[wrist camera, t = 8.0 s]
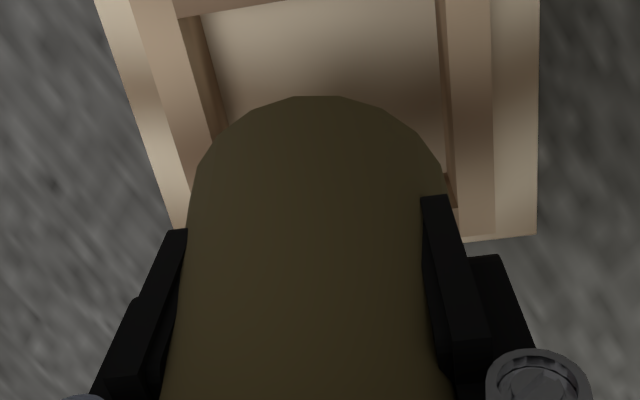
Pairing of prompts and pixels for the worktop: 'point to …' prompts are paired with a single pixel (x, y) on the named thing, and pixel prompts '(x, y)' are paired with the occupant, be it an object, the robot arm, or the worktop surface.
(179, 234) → the robot arm
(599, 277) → the worktop surface
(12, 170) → the worktop surface
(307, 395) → the olive tall rounded piece
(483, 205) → the holder
